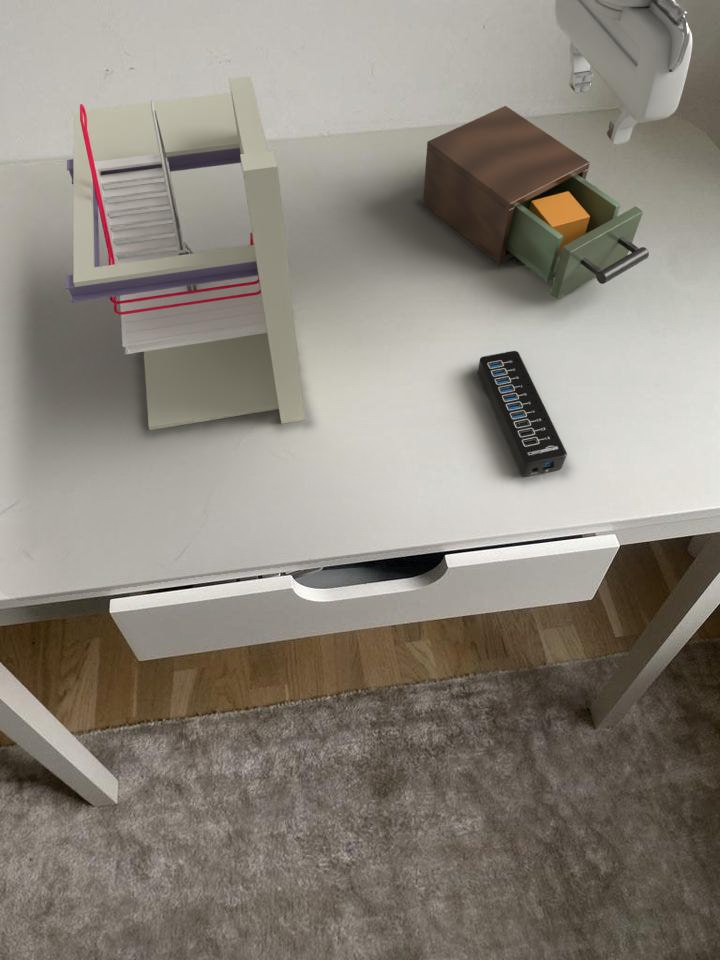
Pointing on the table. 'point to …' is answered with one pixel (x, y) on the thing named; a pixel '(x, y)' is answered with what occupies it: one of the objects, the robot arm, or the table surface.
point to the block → (562, 216)
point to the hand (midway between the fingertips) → (597, 113)
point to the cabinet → (493, 175)
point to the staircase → (188, 257)
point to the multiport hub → (521, 414)
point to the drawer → (577, 240)
